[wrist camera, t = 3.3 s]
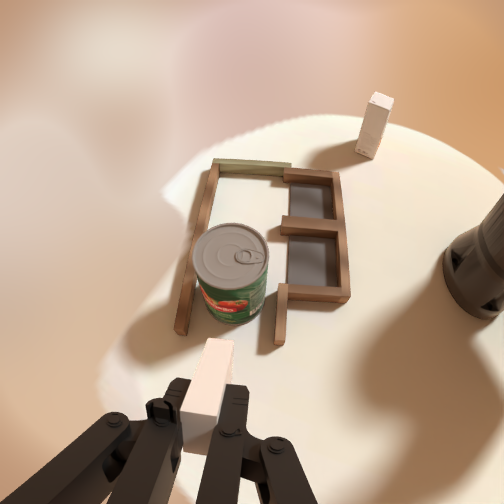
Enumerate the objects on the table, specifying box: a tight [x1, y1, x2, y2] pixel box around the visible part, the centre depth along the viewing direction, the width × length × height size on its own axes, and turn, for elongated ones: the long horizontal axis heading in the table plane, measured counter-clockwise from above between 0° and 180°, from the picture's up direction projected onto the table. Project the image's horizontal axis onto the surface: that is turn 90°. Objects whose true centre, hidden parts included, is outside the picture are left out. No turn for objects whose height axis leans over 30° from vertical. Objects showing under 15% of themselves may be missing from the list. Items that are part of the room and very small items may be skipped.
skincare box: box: [355, 91, 394, 159], centre depth 53 cm, size 6×4×12 cm
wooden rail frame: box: [174, 158, 351, 345], centre depth 45 cm, size 30×22×2 cm
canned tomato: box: [192, 223, 269, 325], centre depth 36 cm, size 8×8×11 cm
